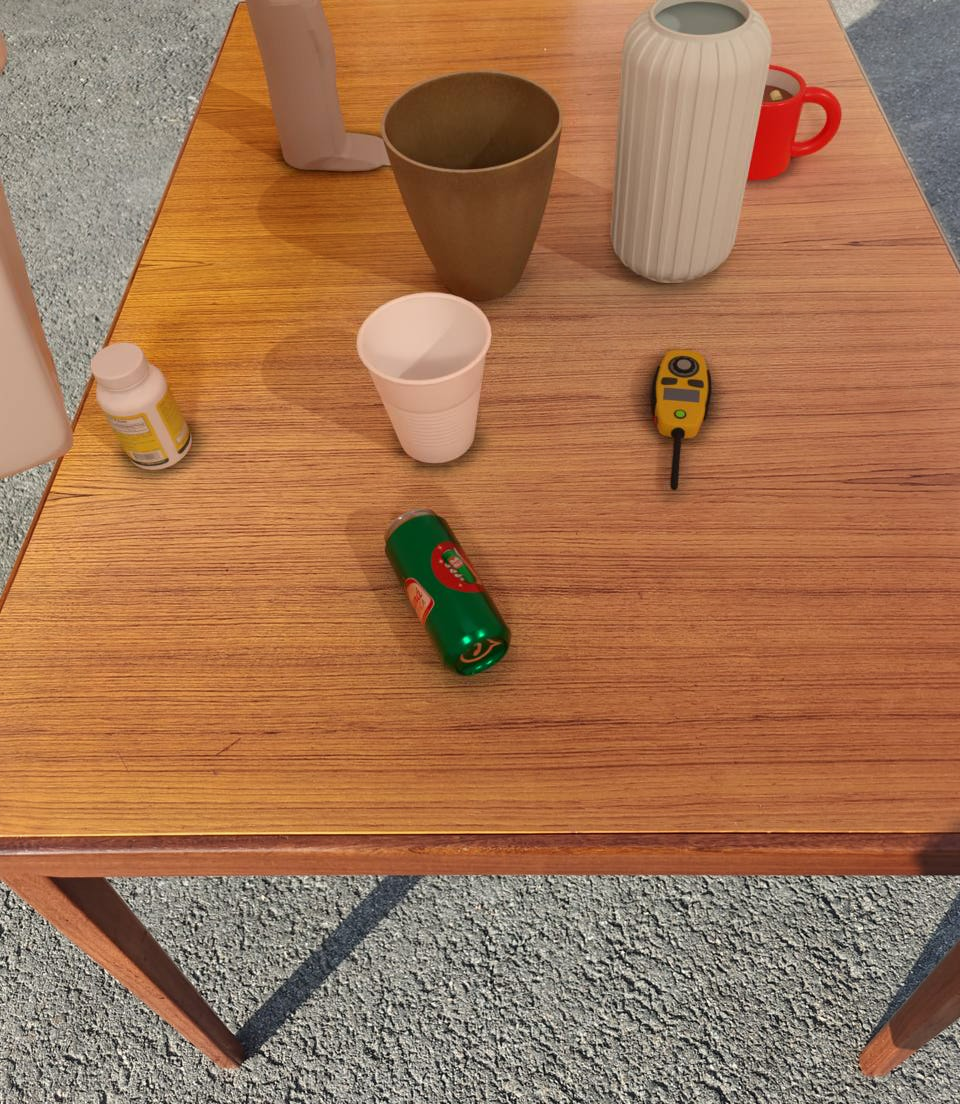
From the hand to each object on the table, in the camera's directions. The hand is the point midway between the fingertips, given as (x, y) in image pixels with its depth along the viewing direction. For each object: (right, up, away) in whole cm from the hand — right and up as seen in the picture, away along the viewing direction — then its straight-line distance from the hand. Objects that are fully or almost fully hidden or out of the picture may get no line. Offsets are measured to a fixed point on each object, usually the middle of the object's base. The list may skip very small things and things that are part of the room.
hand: (39, 390), depth 37 cm
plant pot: (+18, +20, +52) cm, 58 cm away
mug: (+48, +35, +61) cm, 85 cm away
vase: (+36, +22, +52) cm, 66 cm away
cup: (+14, +3, +40) cm, 42 cm away
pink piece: (+3, +38, +66) cm, 76 cm away
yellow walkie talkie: (+34, +4, +39) cm, 52 cm away
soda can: (+18, -13, +24) cm, 33 cm away
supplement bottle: (-9, +2, +41) cm, 42 cm away
